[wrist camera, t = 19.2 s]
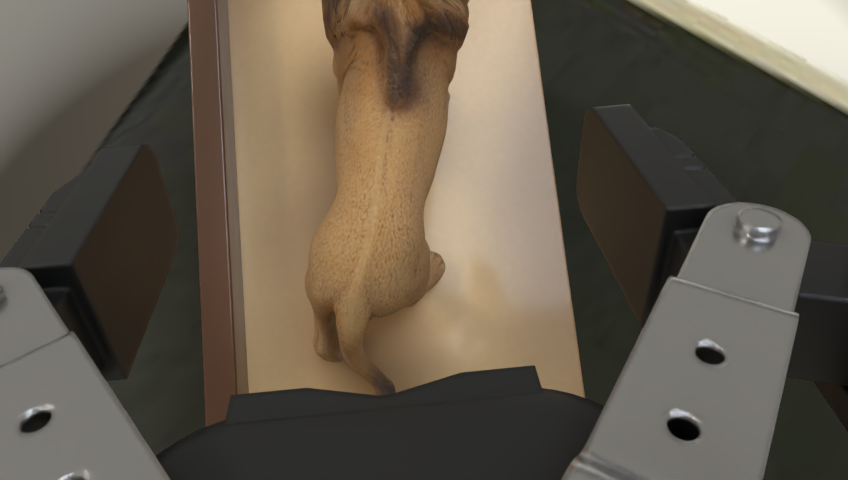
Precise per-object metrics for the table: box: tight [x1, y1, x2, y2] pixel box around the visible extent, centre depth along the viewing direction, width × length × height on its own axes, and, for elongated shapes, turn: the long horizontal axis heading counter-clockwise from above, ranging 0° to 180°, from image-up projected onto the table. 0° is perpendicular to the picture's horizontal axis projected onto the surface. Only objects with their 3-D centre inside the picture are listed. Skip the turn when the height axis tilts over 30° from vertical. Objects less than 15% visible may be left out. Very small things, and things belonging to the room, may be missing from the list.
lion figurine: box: [304, 0, 469, 396], centre depth 17 cm, size 15×5×9 cm, turn 4°
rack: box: [187, 0, 585, 427], centre depth 27 cm, size 12×18×14 cm, turn 6°
